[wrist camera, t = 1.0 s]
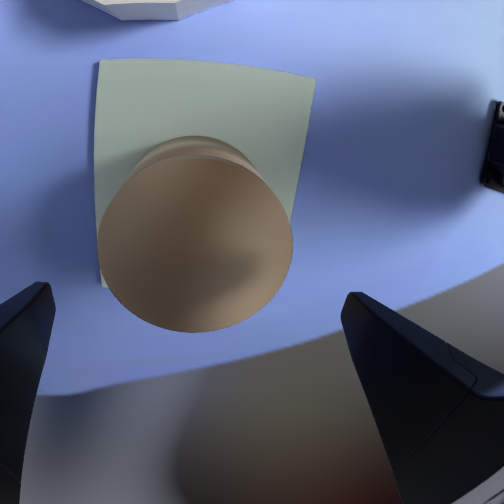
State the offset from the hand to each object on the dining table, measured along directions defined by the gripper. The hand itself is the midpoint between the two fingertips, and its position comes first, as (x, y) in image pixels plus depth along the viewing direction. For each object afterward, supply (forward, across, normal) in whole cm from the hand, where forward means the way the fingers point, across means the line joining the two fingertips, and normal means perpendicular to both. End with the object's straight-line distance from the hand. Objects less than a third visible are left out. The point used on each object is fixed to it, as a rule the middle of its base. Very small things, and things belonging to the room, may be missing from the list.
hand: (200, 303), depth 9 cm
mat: (+8, 0, -1) cm, 8 cm away
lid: (+8, 0, 0) cm, 8 cm away
